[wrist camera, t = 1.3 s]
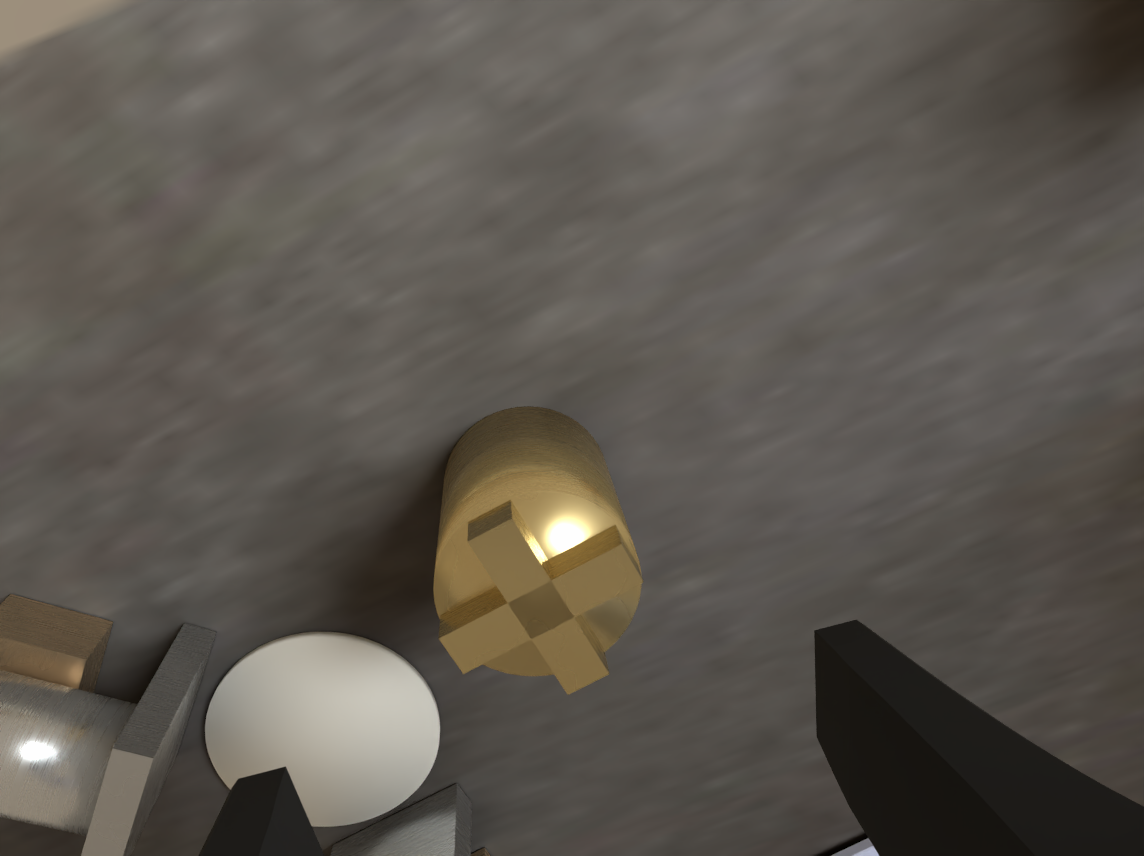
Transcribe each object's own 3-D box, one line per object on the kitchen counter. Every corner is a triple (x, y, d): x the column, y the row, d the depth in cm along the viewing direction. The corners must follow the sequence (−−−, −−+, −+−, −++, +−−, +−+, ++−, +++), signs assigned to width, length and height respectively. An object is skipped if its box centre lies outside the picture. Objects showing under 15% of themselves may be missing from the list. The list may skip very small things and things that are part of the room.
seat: (481, 757, 24) (481, 764, 24) (293, 851, 25) (291, 859, 25) (361, 592, 22) (359, 598, 22) (160, 698, 23) (156, 706, 23)
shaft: (216, 632, 22) (152, 758, 18) (177, 755, 23) (108, 902, 19) (14, 576, 21) (-104, 696, 17) (-17, 708, 22) (-135, 853, 18)
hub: (635, 510, 22) (683, 641, 17) (495, 582, 23) (499, 733, 17) (560, 376, 21) (586, 473, 16) (412, 456, 21) (388, 577, 16)
